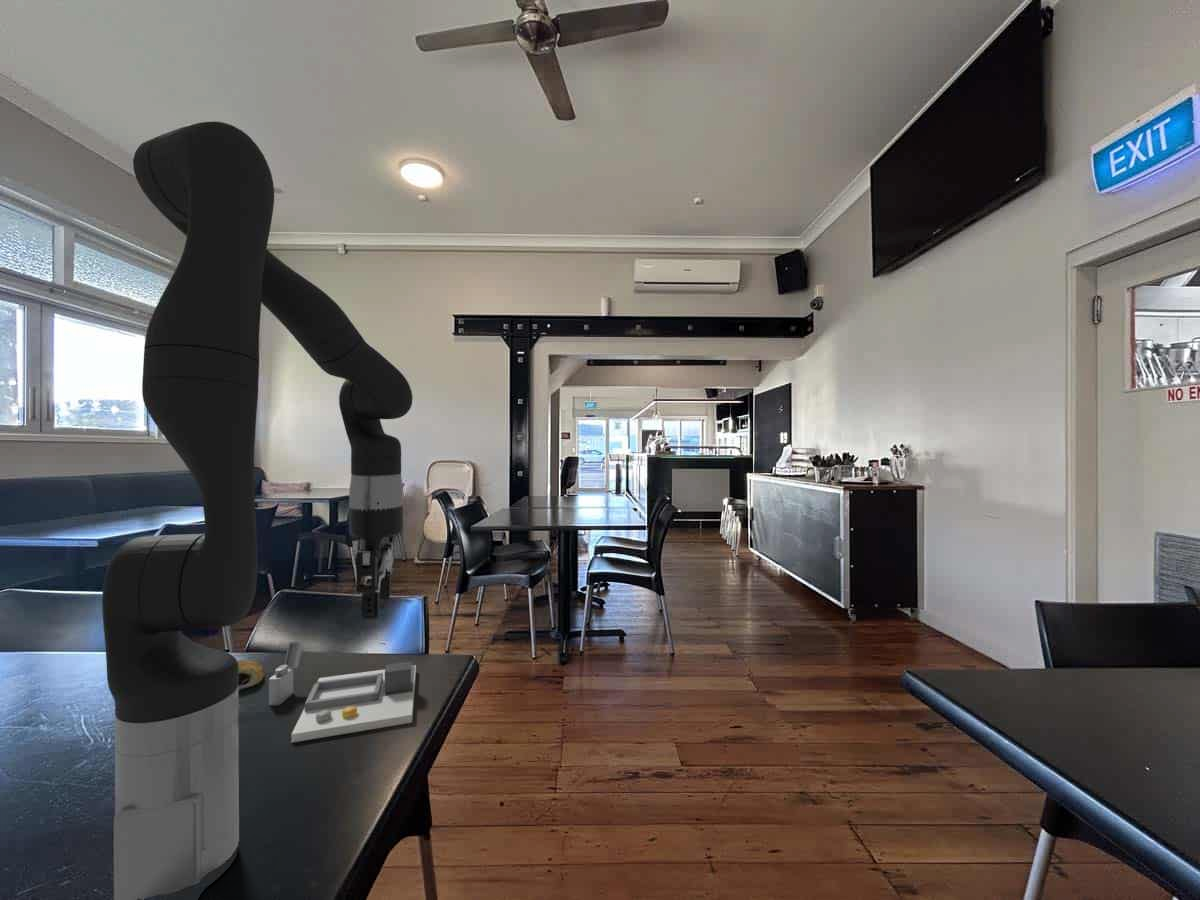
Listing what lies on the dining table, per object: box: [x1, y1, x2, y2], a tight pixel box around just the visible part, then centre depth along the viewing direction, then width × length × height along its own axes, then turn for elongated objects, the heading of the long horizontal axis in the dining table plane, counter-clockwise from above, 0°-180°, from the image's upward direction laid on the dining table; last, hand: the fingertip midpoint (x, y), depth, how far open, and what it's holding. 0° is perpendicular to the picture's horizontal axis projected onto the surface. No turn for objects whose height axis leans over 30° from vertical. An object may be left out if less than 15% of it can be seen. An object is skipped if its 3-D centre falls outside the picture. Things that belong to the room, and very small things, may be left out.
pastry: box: [237, 659, 265, 691], centre depth 89 cm, size 9×7×4 cm
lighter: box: [268, 641, 304, 706], centre depth 84 cm, size 7×2×8 cm, turn 3°
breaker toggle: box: [385, 661, 412, 694], centre depth 83 cm, size 3×4×4 cm
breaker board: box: [290, 664, 417, 744], centre depth 81 cm, size 18×16×2 cm
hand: (377, 607), depth 76 cm, fingers open, 8 cm apart
